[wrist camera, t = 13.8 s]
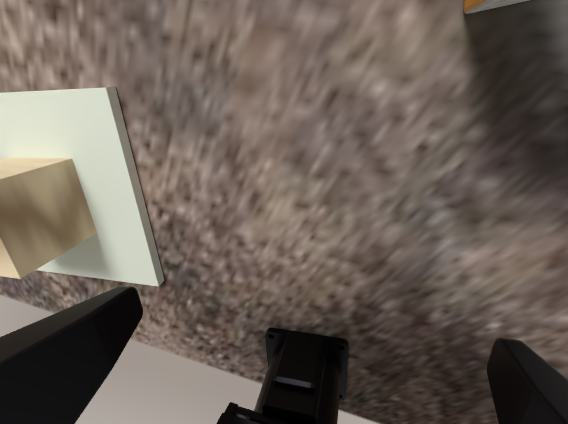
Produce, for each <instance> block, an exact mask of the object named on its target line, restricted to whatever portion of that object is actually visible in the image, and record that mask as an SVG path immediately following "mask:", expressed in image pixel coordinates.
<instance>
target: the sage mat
mask: <svg viewBox="0 0 568 424" xmlns="http://www.w3.org/2000/svg"><path fill="white" fill-rule="evenodd" d="M7 157H23V158H72V160H73V163H74V166H75V169H76V172H77V175H78V178H79V181H80V184H81V187H82V190H83V193H84V196H85V199H86V201H87V204H88V207H89V210H90V213H91V216H92V219H93V222H94V225H95V228H96V231H97V234H95V235H93V236H92V237H90V238H88V239H87V240H85V241H83V242H82V243H80V244H78V245H77V246H75V247H73V248H72V249H70V250H68V251H66V252H65V253H63V254H61V255H60V256H58V257H56V258H55V259H53V260H51V261H50V262H48V263H46V264H45V265H43V266H41V267H40V268H38V269H36V270H40V271H47V272H55V273H62V274H70V275H77V276H85V277H92V278H99V279H107V280H114V281H122V282H129V283H137V284H144V285H152V286H160V285H161V283H162V282H163V281H164V277H163V273H162V269H161V265H160V261H159V257H158V253H157V249H156V245H155V241H154V237H153V233H152V229H151V225H150V222H149V218H148V214H147V210H146V206H145V202H144V198H143V194H142V190H141V186H140V182H139V178H138V174H137V170H136V166H135V162H134V158H133V155H132V151H131V147H130V143H129V139H128V135H127V131H126V127H125V123H124V119H123V115H122V111H121V107H120V103H119V99H118V95H117V91H116V88H115V87H108V88H88V89H68V90H48V91H28V92H8V93H0V159H3V158H7Z"/></svg>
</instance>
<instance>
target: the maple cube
mask: <svg viewBox="0 0 568 424" xmlns="http://www.w3.org/2000/svg"><path fill="white" fill-rule="evenodd" d="M95 234H97V231H96V228H95V225H94V222H93V219H92V216H91V213H90V210H89V207H88V204H87V201H86V199H85V196H84V193H83V190H82V187H81V184H80V181H79V178H78V175H77V172H76V169H75V166H74V163H73V160H72V158H23V157H7V158H3V159H0V276H4V277H11V278H18V279H21V278H23V277H25V276H26V275H28V274H30V273H31V272H33V271H35V270H36V269H38V268H40V267H41V266H43V265H45V264H46V263H48V262H50V261H51V260H53V259H55V258H56V257H58V256H60V255H61V254H63V253H65V252H66V251H68V250H70V249H72V248H73V247H75V246H77V245H78V244H80V243H82V242H83V241H85V240H87V239H88V238H90V237H92V236H93V235H95Z"/></svg>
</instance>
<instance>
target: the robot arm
mask: <svg viewBox="0 0 568 424" xmlns="http://www.w3.org/2000/svg"><path fill="white" fill-rule="evenodd" d="M142 315H143V308H142V304H141V301H140V298H139V294H138V291H137V289H136V288H134V287H130V286H119V287H116V288H114V289H112V290H109V291H107V292H105V293H102V294H100V295H98V296H95V297H93V298H91V299H88V300H86V301H84V302H81V303H79V304H77V305H74V306H72V307H70V308H67V309H65V310H63V311H60V312H58V313H56V314H53V315H51V316H49V317H47V318H44V319H42V320H40V321H37V322H35V323H32V324H30V325H28V326H25V327H23V328H21V329H18V330H16V331H14V332H11V333H9V334H7V335H4V336H2V337H0V424H75V422H76V421H77V419H78V418H79V417H80V415H81V413H82V412H83V411H84V409H85V408H86V406H87V405H88V404H89V402H90V401H91V399H92V398H93V396H94V395H95V393H96V392H97V390H98V389H99V388H100V386H101V385H102V383H103V382H104V380H105V379H106V378H107V376H108V374H109V373H110V371H111V370H112V368H113V367H114V365H115V363H116V362H117V360H118V358H119V356H120V355H121V353H122V351H123V350H124V348H125V346H126V344H127V342H128V341H129V339H130V337H131V336H132V334H133V332H134V330H135V329H136V327H137V325H138V323H139V322H140V320H141V318H142ZM271 334H272V335H271ZM265 338H266V349H267V359H268V371H267V373H266V376H265V379H264V382H263V385H262V388H261V392H260V395H259V397H258V400H257V404H256V406H255V409H254V411H252V410H249V409H246V408H242V407H239V406H238V404H235V403H232V402H230V403H229V405H228V407H227V409H226V411H225V412H224V413H222V415H221V416H220V418H219V420H218V422H217V424H337V419H338V407H339V400H344V399H345V395H346V377H347V358H348V342H347V341H346V340H344V339H340V338H333V337H327V336H320V335H314V334H308V333H301V332H295V331H288V330H282V329H275V328H269V329H267V331H266V334H265ZM340 345H342V346H340ZM487 375H488V380H489V384H490V388H491V392H492V397H493V401H494V405H495V409H496V414H497V418H498V422H499V424H568V379H567V378H565V377H564V376H563V375H562V374H561V373H559V372H558V371H557V370H556V369H554V368H553V367H552V366H551V365H550V364H548V363H547V362H546V361H545V360H544V359H542V358H541V357H540V356H539V355H537V354H536V353H535V352H534V351H533V350H531V349H530V348H529V347H528V346H527V345H525V344H524V343H523V342H521V341H519V340H514V339H507V338H497V339H496V340H495V342H494V345H493V348H492V351H491V354H490V357H489V360H488V364H487Z"/></svg>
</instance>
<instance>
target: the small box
mask: <svg viewBox="0 0 568 424" xmlns="http://www.w3.org/2000/svg"><path fill="white" fill-rule="evenodd" d="M524 1H529V0H465V1H464V13H466V14H469V13H474V12H479V11H483V10H488V9H492V8H497V7H502V6H506V5H511V4H515V3H520V2H524Z"/></svg>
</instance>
